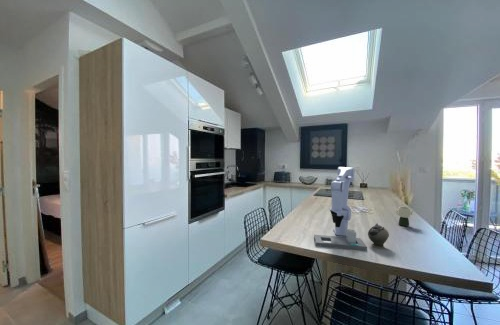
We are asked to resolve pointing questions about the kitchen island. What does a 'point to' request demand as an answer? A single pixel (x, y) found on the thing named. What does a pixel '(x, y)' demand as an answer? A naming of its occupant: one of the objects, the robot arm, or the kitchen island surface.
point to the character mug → (404, 215)
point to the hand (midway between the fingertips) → (336, 224)
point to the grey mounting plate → (338, 242)
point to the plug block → (351, 236)
